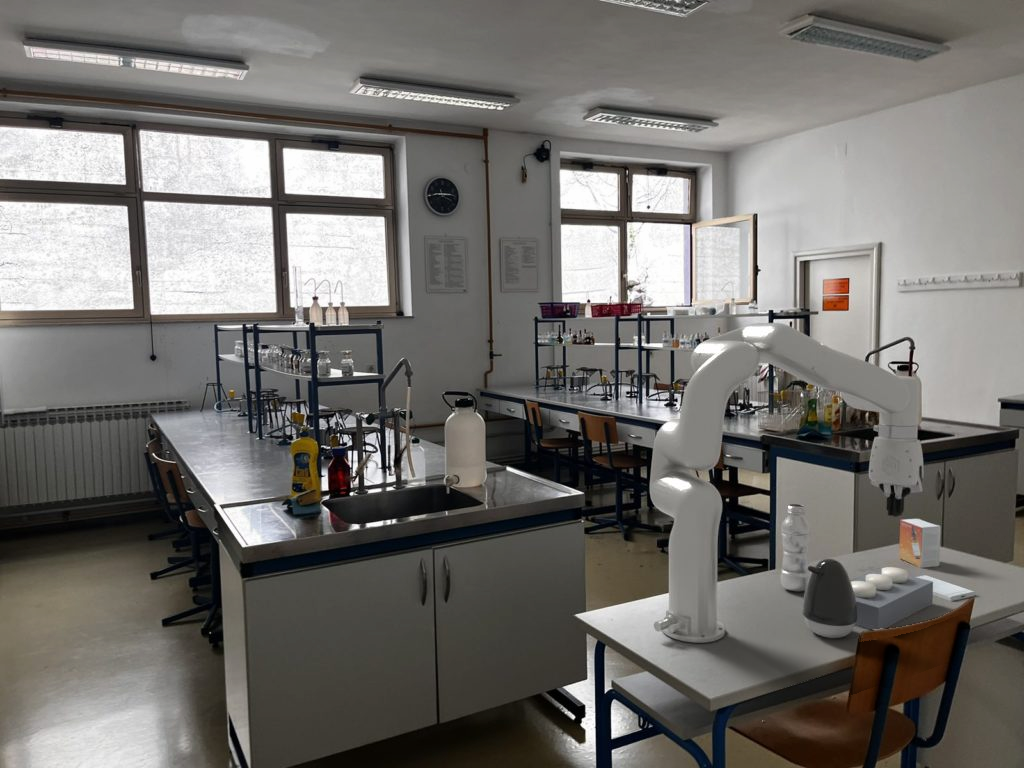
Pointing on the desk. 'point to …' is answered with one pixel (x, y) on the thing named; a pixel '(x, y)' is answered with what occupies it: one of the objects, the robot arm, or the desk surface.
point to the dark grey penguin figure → (829, 600)
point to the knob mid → (880, 581)
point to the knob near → (864, 589)
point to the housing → (893, 602)
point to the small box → (919, 542)
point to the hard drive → (948, 589)
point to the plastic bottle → (795, 549)
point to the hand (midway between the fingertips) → (894, 514)
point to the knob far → (896, 574)
